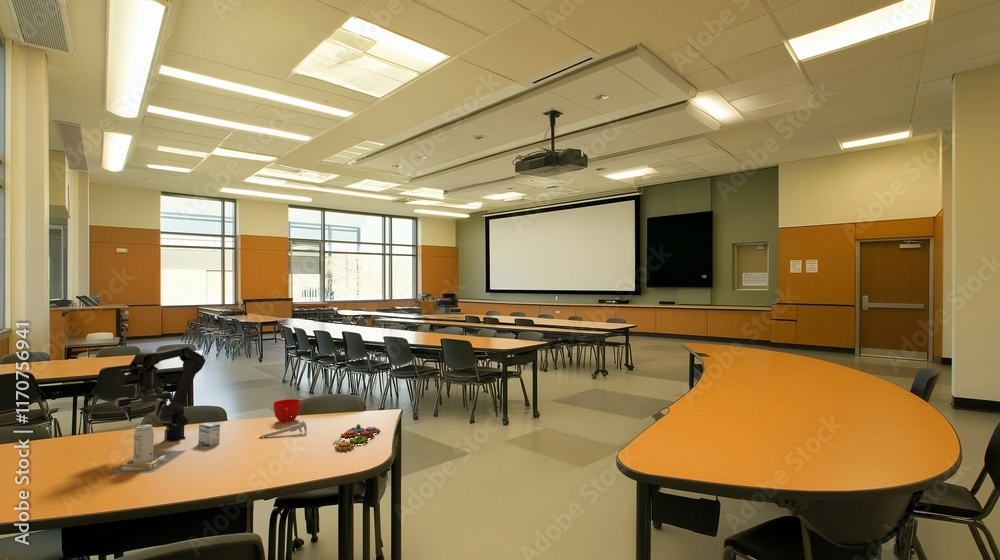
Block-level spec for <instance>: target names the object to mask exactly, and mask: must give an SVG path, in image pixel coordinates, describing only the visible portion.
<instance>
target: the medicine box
mask: <svg viewBox="0 0 1000 560" xmlns="http://www.w3.org/2000/svg"><path fill="white" fill-rule="evenodd" d="M220 435H221V424H219V423H213V422H204V423H201V424H198V445H200V444H202V445H201V446H206V445H208V447H212V445H213V446H216V445H219V444H220V439H221V438H220V437H221V436H220ZM215 444H216V445H215Z"/></svg>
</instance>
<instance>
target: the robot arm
mask: <svg viewBox="0 0 1000 560" xmlns="http://www.w3.org/2000/svg"><path fill="white" fill-rule="evenodd" d="M175 358H179V359H180V361H181V362H182V369H183V372H182V375H181V377H180V380H179V383H178V385H177V387H176V389H175V392H174V394H173V396H172V393H171V392H170V391H166V390H165V391H163V388H162V387H161V388H160V387H159V388H156V389H155V386H154V385H155V384H154V371H158V370H159V368H157V367H156V365H157V364H159V363H161V362H162V361H167V360H170V359H175ZM205 364H206V359H205V356H204V355H202V354H200V353H198V352H197V351H194V350H193V349H192V348H190V347H189V346H178V347H174V348H170V349H165V350H164V349H163V350H160V351H156V352H152V351H151V352H138V353H136V354H135V356H134V357H133V359H132V361H131V362H130V364H129V365H128V366H127V368H126V369H119V371H118V374H116V376H115V378H114V384H116V386H117V387H119V388H122V387H123V388H124V387H127V386H132V385H134V387H135V393H134V397H132V398H130V397H127V396H125V397H118V398H115V399H114V403H113V404H114V406H115V407H117V408H120V409H122V410H123V412H124V414H125V416H126V417H127V420H128V422H129V423H130V422H132V405H131V404H134V403H141V402H142V403H143V404H144V403H145V404H147V403H151V402H154V403H155V404H154V405H155V407H154V415H155V418H157V417H158V416H159V419H160V421H161V423H162V426H163V427H165V430H164V439H163V440H164V441H167V442H169V443H170V442H175V441H180V440H183V439H186V438H187V437H186V436H185V427H186V425H188V423H189V419H188V418H187V417H186V416H185V415H184V414H185V408H184V407H185V406H184V403H185V401H186V399H187V396H188V394H189V391H190V389H191V386H192V384H193V382H194V379H195V377H196V375H197V374H198V373H199V372H200V371H201V370H202V369H203V367H204V365H205ZM169 400H171V401H170V403H168V405H167V404H166V405H165V403H166V402H169ZM161 409H162V410H161ZM160 411H161V412H160Z"/></svg>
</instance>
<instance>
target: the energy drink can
mask: <svg viewBox="0 0 1000 560" xmlns="http://www.w3.org/2000/svg"><path fill="white" fill-rule="evenodd" d="M154 435H155V431H154V427H153V424H150V423H149V424H147V423H146V424H141V425H137V426H135V430H134V432H133V457H132V458H133V464H138V463H152V462H153V452H154V439H155V438H154Z"/></svg>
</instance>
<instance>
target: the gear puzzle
mask: <svg viewBox="0 0 1000 560" xmlns="http://www.w3.org/2000/svg"><path fill="white" fill-rule="evenodd" d="M379 431H380V432H381V430H380V428H376V427H375V426H367V427H366V428H365V427H362V426H361V424H360V423H358V424H356V426H355V427H352V428H350V429H347V430H346V431H344V433H341V434H340V436H341V438H345V439H348V438H349V439H350V438H353V439H350V441H349V442H350V443H349V442H347V441H346V442H345V440H343V441H341V440H342V439H340V438H338V439H339V440H338V439H336V440H335V442H334V443H332V445H333V444H337V445H338V446H337V445H335V446H334V450H335V451H337V450H338V451H339V452H340V451H344V452H345V451H347V450H348V451H349V450H352V449H355V446H353V444H354V445H357V444H364V443H368V442H367V441H368V438H374V437H375V436H374V435H373V434H374V433H377V434H378V432H379ZM380 432H379V433H380ZM358 433H360V434H358ZM356 436H357V438H355V437H356ZM373 436H374V437H373ZM340 441H341V442H340Z"/></svg>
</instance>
